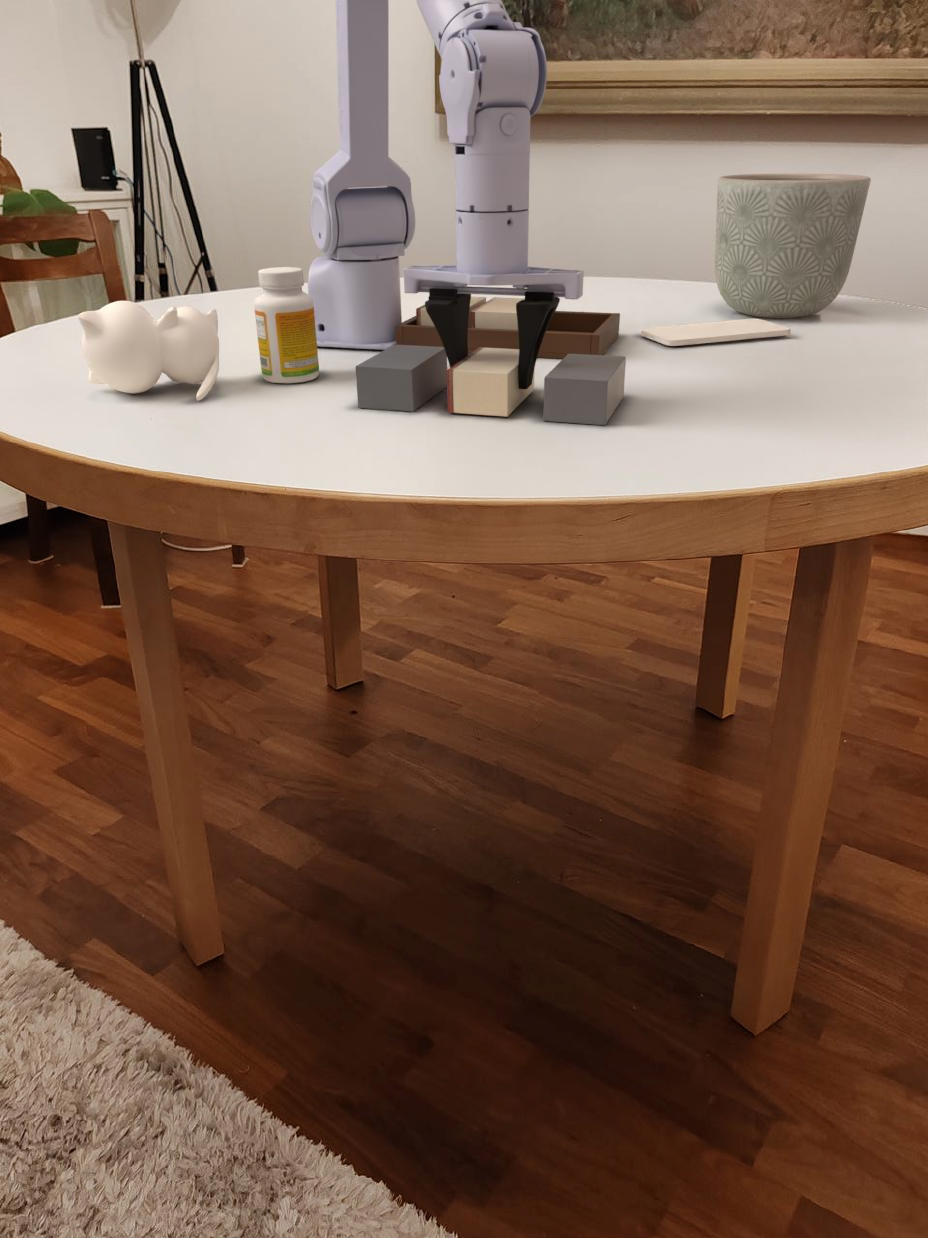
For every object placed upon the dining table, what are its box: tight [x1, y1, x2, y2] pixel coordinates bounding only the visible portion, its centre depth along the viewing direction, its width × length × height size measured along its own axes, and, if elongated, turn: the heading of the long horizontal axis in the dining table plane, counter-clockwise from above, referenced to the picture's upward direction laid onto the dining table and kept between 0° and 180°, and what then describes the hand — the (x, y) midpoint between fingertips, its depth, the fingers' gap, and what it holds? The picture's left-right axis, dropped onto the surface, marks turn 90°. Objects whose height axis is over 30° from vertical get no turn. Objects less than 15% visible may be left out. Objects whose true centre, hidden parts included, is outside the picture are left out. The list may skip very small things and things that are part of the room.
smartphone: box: [640, 318, 791, 347], centre depth 104 cm, size 7×1×15 cm
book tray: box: [396, 310, 621, 360], centre depth 102 cm, size 22×13×2 cm, turn 73°
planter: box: [714, 173, 872, 319], centre depth 114 cm, size 17×17×15 cm
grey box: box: [542, 354, 627, 426], centre depth 78 cm, size 5×9×4 cm, turn 163°
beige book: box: [415, 296, 487, 328], centre depth 104 cm, size 5×9×4 cm, turn 163°
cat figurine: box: [78, 300, 220, 401], centre depth 84 cm, size 9×11×12 cm
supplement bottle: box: [253, 266, 320, 384], centre depth 88 cm, size 5×5×10 cm
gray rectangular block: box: [355, 345, 448, 413], centre depth 82 cm, size 5×9×4 cm, turn 163°
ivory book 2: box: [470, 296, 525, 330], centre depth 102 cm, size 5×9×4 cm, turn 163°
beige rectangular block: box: [446, 347, 535, 418], centre depth 80 cm, size 5×9×4 cm, turn 163°
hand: (492, 384), depth 80 cm, fingers closed on beige rectangular block, 5 cm apart
